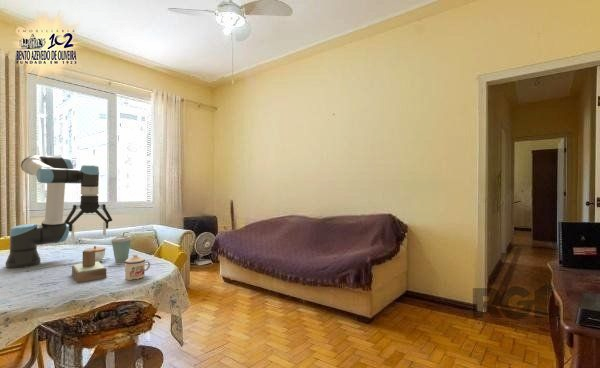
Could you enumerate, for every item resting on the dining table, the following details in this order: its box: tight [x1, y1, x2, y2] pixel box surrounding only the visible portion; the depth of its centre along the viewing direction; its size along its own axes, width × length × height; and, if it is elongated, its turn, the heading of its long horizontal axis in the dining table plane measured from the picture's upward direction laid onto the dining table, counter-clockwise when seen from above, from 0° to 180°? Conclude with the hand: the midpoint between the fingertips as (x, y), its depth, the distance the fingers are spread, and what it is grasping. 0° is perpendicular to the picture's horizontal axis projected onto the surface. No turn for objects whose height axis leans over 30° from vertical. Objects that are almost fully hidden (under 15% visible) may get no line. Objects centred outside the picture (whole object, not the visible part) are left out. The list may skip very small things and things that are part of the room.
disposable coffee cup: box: [110, 235, 132, 263], centre depth 187 cm, size 11×11×15 cm
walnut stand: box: [71, 261, 107, 283], centre depth 157 cm, size 18×12×5 cm, turn 43°
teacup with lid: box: [124, 254, 151, 281], centre depth 155 cm, size 12×9×12 cm
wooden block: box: [82, 250, 95, 267], centre depth 157 cm, size 4×4×8 cm
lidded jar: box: [83, 245, 106, 263], centre depth 186 cm, size 11×11×9 cm
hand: (89, 236), depth 157 cm, fingers open, 13 cm apart
